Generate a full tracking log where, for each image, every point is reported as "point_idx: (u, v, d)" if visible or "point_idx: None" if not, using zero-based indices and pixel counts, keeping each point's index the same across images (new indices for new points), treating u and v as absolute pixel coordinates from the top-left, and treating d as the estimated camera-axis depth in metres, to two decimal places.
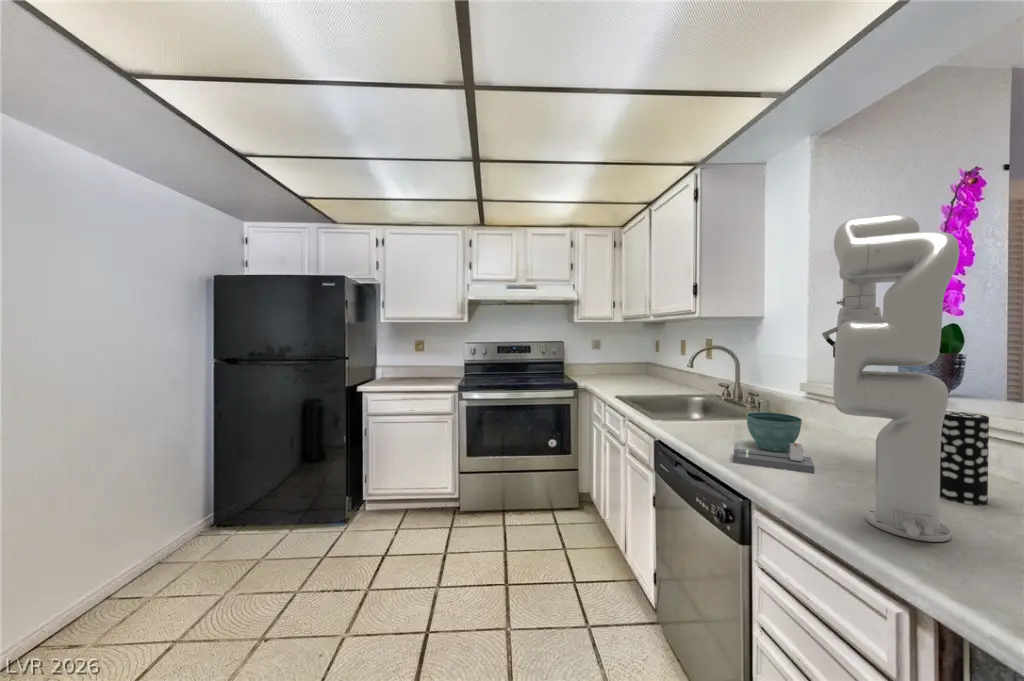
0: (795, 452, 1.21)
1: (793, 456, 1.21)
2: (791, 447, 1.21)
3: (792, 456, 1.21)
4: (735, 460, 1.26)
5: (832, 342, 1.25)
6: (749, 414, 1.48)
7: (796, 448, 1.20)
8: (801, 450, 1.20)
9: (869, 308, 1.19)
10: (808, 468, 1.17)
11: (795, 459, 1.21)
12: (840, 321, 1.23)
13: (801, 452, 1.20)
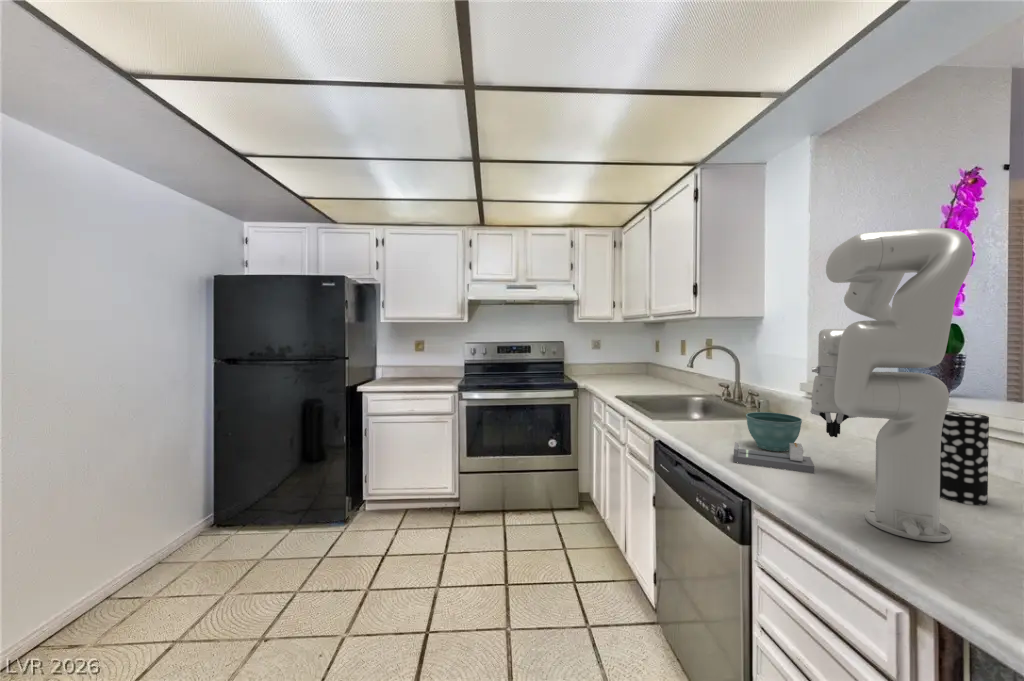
0: (795, 452, 1.21)
1: (793, 456, 1.21)
2: (791, 447, 1.21)
3: (792, 456, 1.21)
4: (735, 460, 1.26)
5: None
6: (749, 414, 1.48)
7: (796, 448, 1.20)
8: (801, 450, 1.20)
9: None
10: (808, 468, 1.17)
11: (795, 459, 1.21)
12: (815, 391, 1.18)
13: (801, 452, 1.20)
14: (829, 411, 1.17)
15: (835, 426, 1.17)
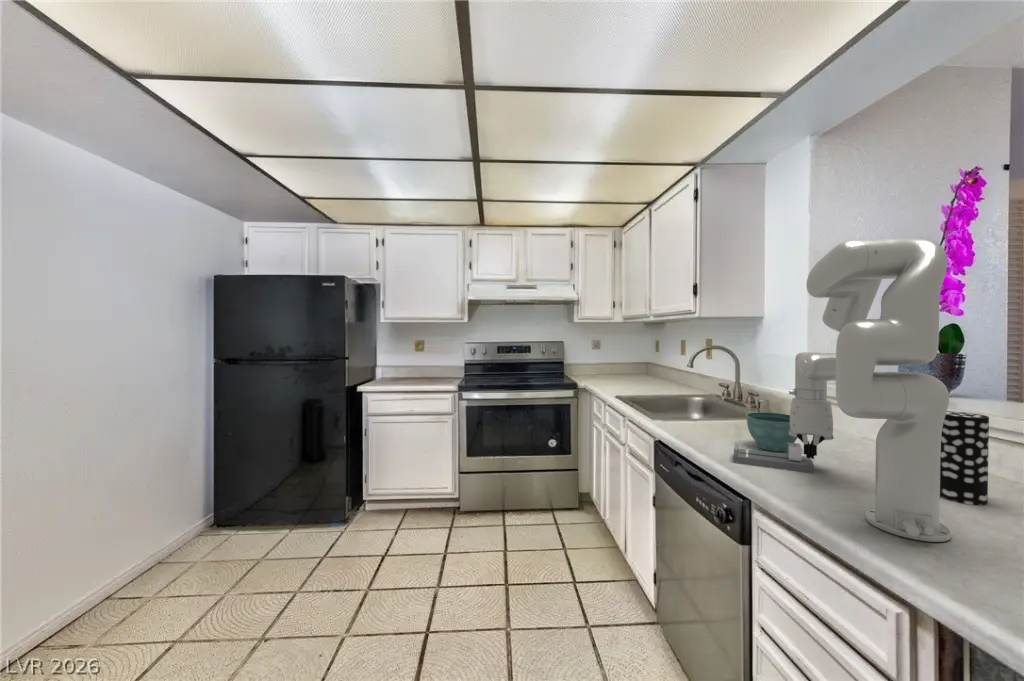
0: (793, 452, 1.21)
1: (792, 456, 1.21)
2: (790, 447, 1.21)
3: (791, 456, 1.21)
4: (735, 460, 1.26)
5: None
6: (749, 414, 1.48)
7: (795, 448, 1.21)
8: (800, 450, 1.20)
9: (820, 402, 1.17)
10: (808, 468, 1.17)
11: (794, 459, 1.21)
12: (792, 413, 1.21)
13: (800, 451, 1.20)
14: (805, 433, 1.19)
15: (812, 447, 1.19)
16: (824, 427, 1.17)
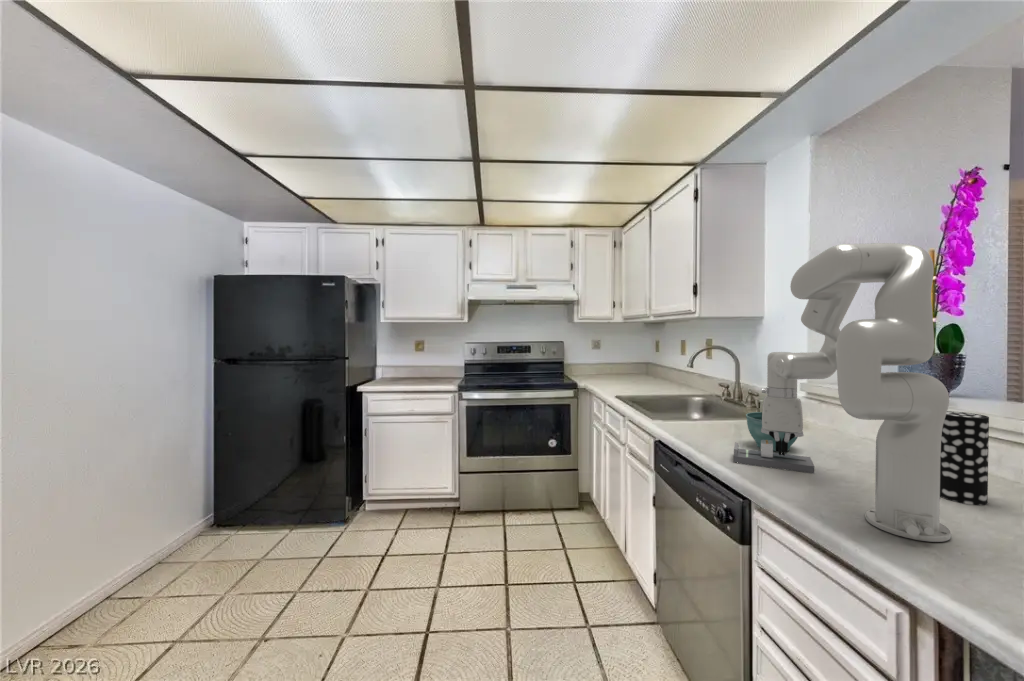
0: (765, 449, 1.24)
1: (764, 452, 1.24)
2: (762, 444, 1.25)
3: (763, 452, 1.25)
4: (735, 460, 1.26)
5: None
6: (749, 414, 1.48)
7: (767, 445, 1.24)
8: (771, 447, 1.23)
9: (790, 400, 1.21)
10: (808, 468, 1.17)
11: (766, 455, 1.24)
12: (764, 411, 1.24)
13: (771, 448, 1.23)
14: (777, 430, 1.23)
15: (783, 444, 1.23)
16: (794, 424, 1.20)
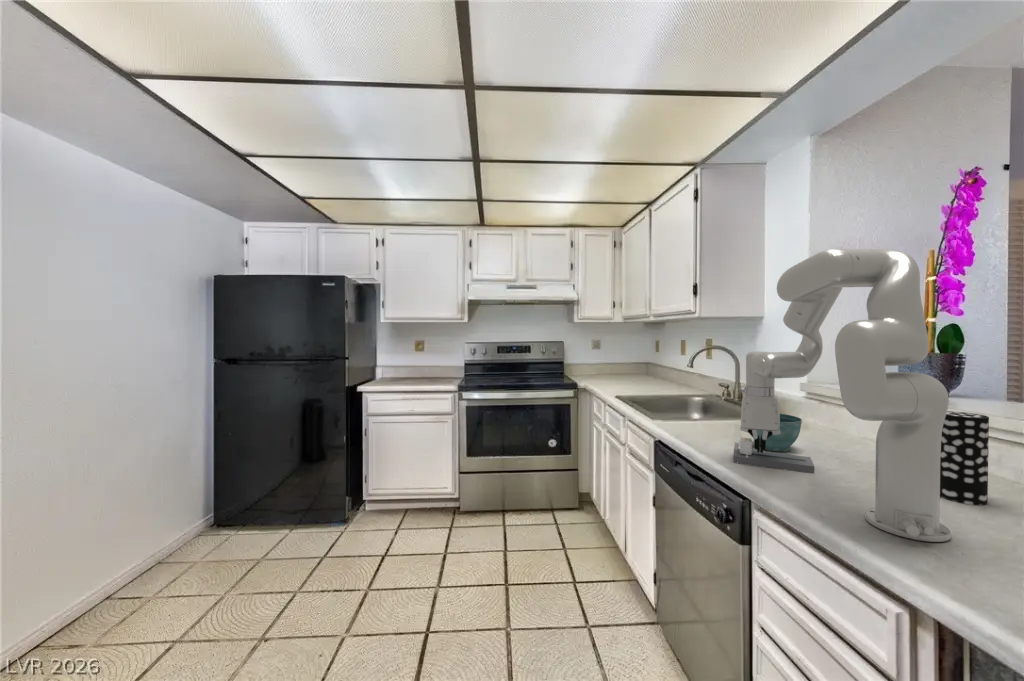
0: (744, 447, 1.27)
1: (743, 450, 1.27)
2: (741, 441, 1.27)
3: (742, 450, 1.27)
4: (735, 460, 1.26)
5: None
6: None
7: (745, 442, 1.27)
8: (750, 444, 1.26)
9: (767, 399, 1.24)
10: (808, 468, 1.17)
11: (744, 453, 1.27)
12: (742, 409, 1.27)
13: (750, 446, 1.26)
14: (755, 428, 1.25)
15: (761, 442, 1.26)
16: (771, 422, 1.23)
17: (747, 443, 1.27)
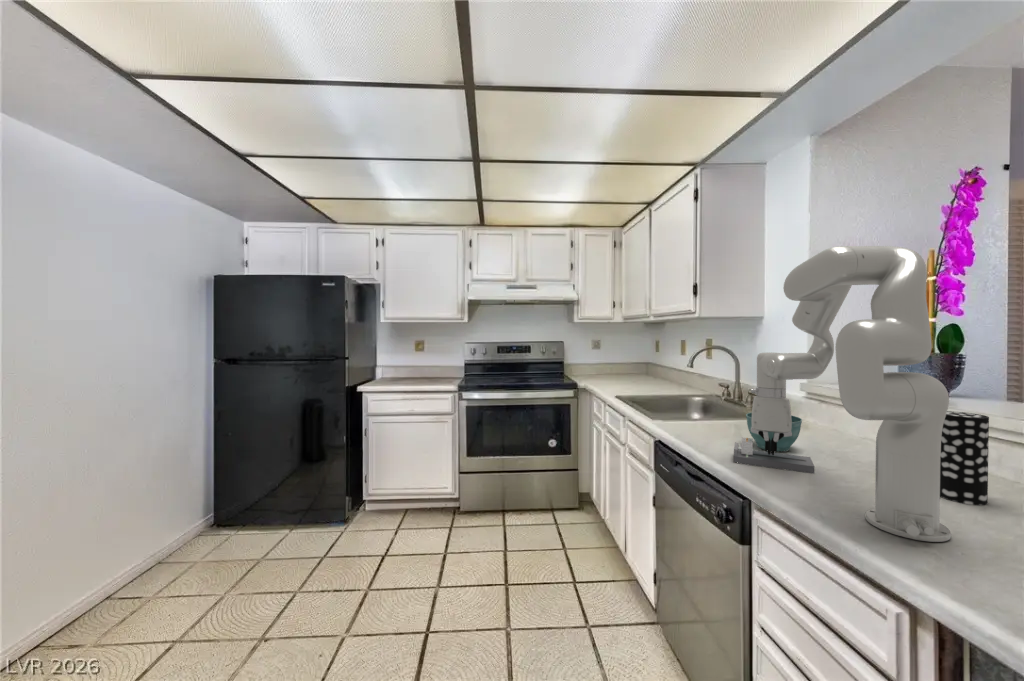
0: (745, 447, 1.27)
1: (744, 450, 1.27)
2: (742, 442, 1.27)
3: (743, 450, 1.27)
4: (735, 460, 1.26)
5: None
6: (749, 414, 1.48)
7: (746, 442, 1.27)
8: (751, 444, 1.26)
9: (779, 400, 1.22)
10: (808, 468, 1.17)
11: (746, 453, 1.27)
12: (753, 411, 1.26)
13: (751, 446, 1.26)
14: (766, 430, 1.24)
15: (772, 444, 1.24)
16: (783, 424, 1.22)
17: (748, 443, 1.26)
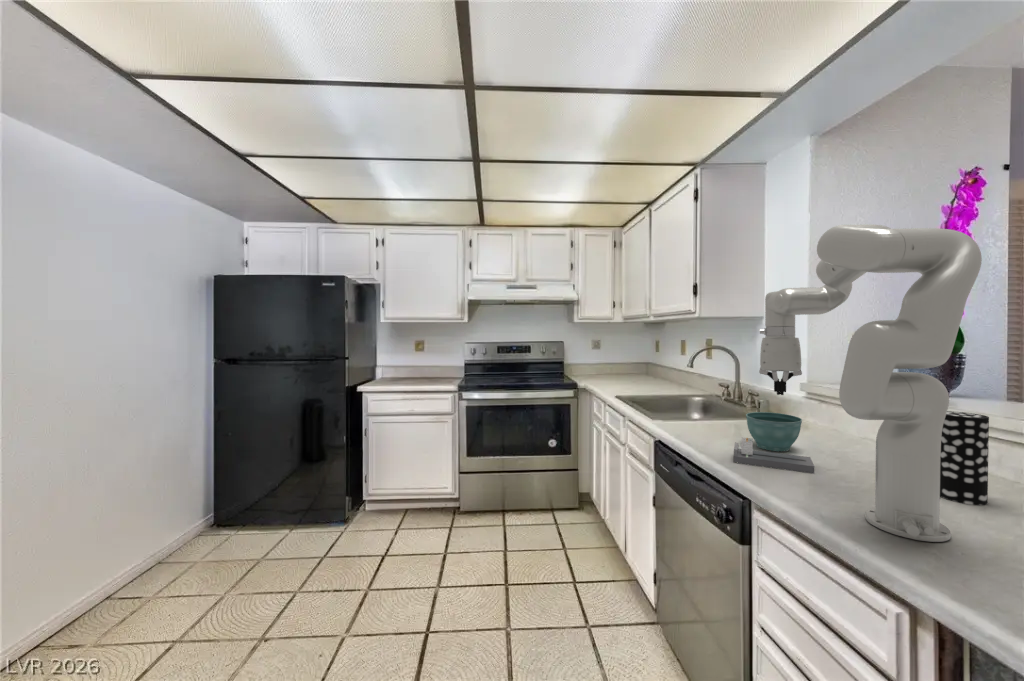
0: (745, 447, 1.27)
1: (744, 450, 1.27)
2: (742, 442, 1.27)
3: (743, 450, 1.27)
4: (735, 460, 1.26)
5: None
6: (749, 414, 1.48)
7: (746, 442, 1.27)
8: (751, 444, 1.26)
9: (788, 339, 1.20)
10: (808, 468, 1.17)
11: (746, 453, 1.27)
12: (762, 351, 1.24)
13: (751, 446, 1.26)
14: (775, 369, 1.22)
15: (781, 384, 1.22)
16: (792, 362, 1.20)
17: (748, 443, 1.26)
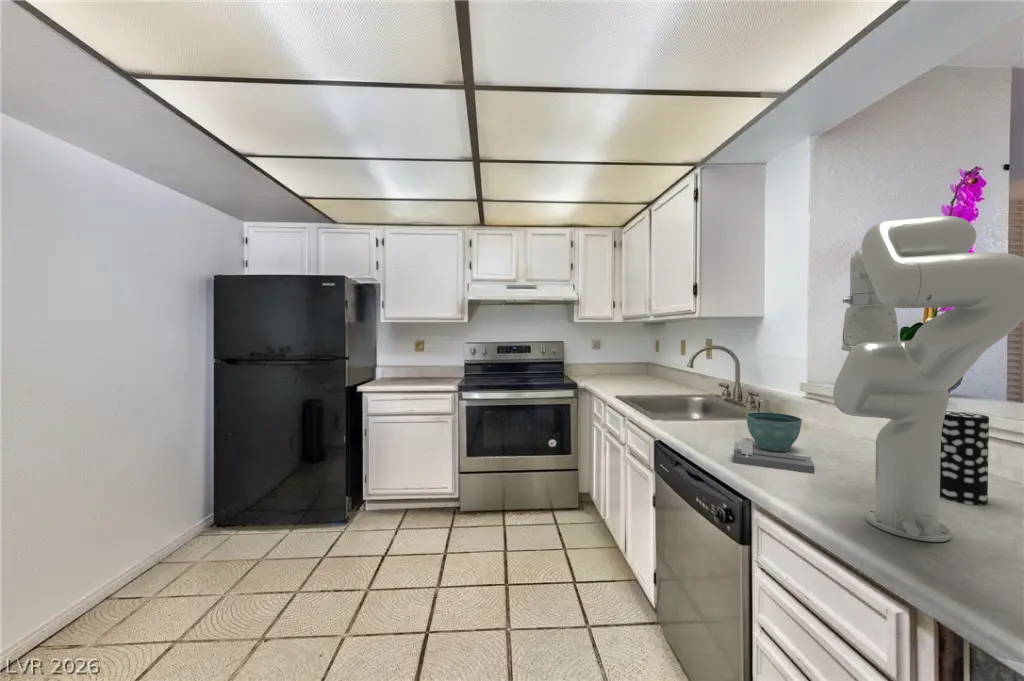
0: (745, 447, 1.27)
1: (744, 450, 1.27)
2: (742, 442, 1.27)
3: (743, 450, 1.27)
4: (735, 460, 1.26)
5: None
6: (749, 414, 1.48)
7: (746, 442, 1.27)
8: (751, 444, 1.26)
9: (882, 307, 1.00)
10: (808, 468, 1.17)
11: (746, 453, 1.27)
12: (847, 323, 1.04)
13: (751, 446, 1.26)
14: None
15: None
16: (887, 336, 1.00)
17: (748, 443, 1.26)
